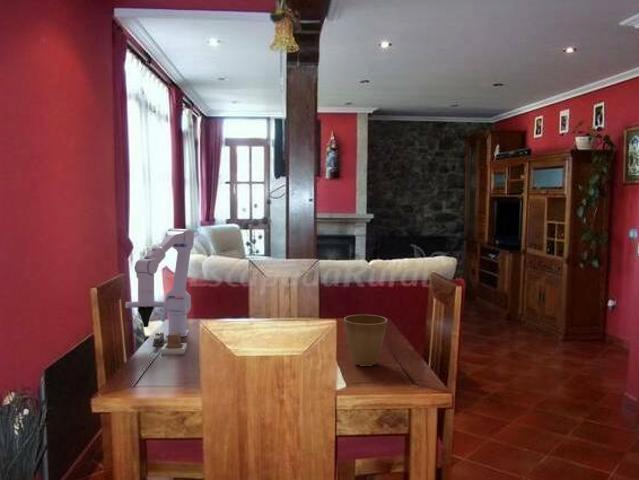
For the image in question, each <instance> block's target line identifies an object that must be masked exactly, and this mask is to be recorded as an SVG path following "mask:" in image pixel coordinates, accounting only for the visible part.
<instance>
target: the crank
mask: <svg viewBox="0 0 639 480" xmlns="http://www.w3.org/2000/svg"><path fill="white" fill-rule="evenodd" d="M154 335H155V336H154V338H153V342H154V344H159V343H160V342H164V341H165V333H164V332H159V331H158V332H156V333H155V334H154Z"/></svg>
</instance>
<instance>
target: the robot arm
mask: <svg viewBox="0 0 639 480" xmlns="http://www.w3.org/2000/svg"><path fill="white" fill-rule="evenodd" d="M194 241H195V235H194V232H193V230H192V229H191V228H187V229H186V228H184V229H183V228H172V227H171V228H168V230H167V231H166V232H165V235H164V238H163V240H161V242H160V243H159V245H158V246H153V247H152V248H151V250H150V251H149V252H148V253H147V254H145V256H144V257H142V258H139V259H138V260H137V261H136V262H135V264H134V267H133V268H134V272H135V275H136V279H137V301H126V302H125V304H124V305H125V307H124V308H125V309H129V308H137V312H138V315H139V316H140V318H141V321H142V325H143V328H148V327H149V324H150V319H151V316H152V313H153V312H154V309H155V308H163V309H164V310H165V312H166V314H167V315H168V332H167V334H166V335H165V337H167V338H168V334H169V333H176V332H179V333H181V337H187V335H188V334H189V331H190V330H189V329H187V318H188V317H187V316H188V315H187V314H188V313H189V312H190V311H191V308H192V302H191V300H192V295H191V294H190V293H188V292H187V290H186V289H187V282H188V273H189V267H190V259H191V258H190V257H191V251H192V250H193V248H194ZM171 248H173V249H174V250H176V252H177V253H176V254H177V255H176V263H175V270H174V277H173V282H172V284H173V285H172V289H171V290H170V291H168V292H167V293H166V296H165V300H164V301H155V274H156V273H157V272H158V268H159V266H160V263H162V261H163V260H164V259H165V257H166V253H167V252H168V251H169V250H170V249H171Z"/></svg>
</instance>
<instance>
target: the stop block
mask: <svg viewBox="0 0 639 480" xmlns="http://www.w3.org/2000/svg"><path fill="white" fill-rule="evenodd" d="M167 334H168V333H167ZM181 337H182V336H181V333H169V334H168V337H167V343H168V349H169V348H181V343H182V342H181Z"/></svg>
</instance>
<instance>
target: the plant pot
mask: <svg viewBox="0 0 639 480" xmlns="http://www.w3.org/2000/svg"><path fill="white" fill-rule="evenodd" d="M343 320H344V321H343V322H344V329H345V330H344V331H345V335H346V340H347V344H348V347H349V351H350V352H349V353H350V354H351V358H352V360H353V361H352V362H353V364H354V363H355V364H357V365H366V366H368V365H374V364H375V365H376V364H377V361H378V360H379V355H380V353H381V350H382V347H383V342H384V340H385V335H386V330H387V323H388V319H387V318H386V317H384V316H380V315H376V314H353V315H348V316H345V317H344V318H343ZM355 364H354V365H355ZM357 365H356V366H357ZM375 365H374V366H375Z"/></svg>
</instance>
